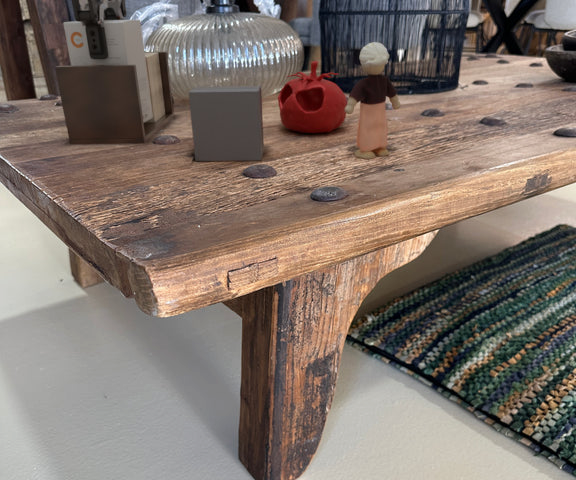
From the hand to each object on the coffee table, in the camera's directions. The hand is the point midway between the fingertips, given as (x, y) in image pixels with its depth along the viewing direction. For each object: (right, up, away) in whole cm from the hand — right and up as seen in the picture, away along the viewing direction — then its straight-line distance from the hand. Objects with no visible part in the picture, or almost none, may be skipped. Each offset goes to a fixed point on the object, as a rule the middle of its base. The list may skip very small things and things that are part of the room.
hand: (108, 55), depth 76 cm
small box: (0, -8, +4) cm, 9 cm away
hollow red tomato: (+27, -8, +7) cm, 29 cm away
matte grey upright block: (+17, -15, -6) cm, 23 cm away
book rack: (0, -8, +7) cm, 11 cm away
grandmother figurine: (+34, -15, -7) cm, 38 cm away
